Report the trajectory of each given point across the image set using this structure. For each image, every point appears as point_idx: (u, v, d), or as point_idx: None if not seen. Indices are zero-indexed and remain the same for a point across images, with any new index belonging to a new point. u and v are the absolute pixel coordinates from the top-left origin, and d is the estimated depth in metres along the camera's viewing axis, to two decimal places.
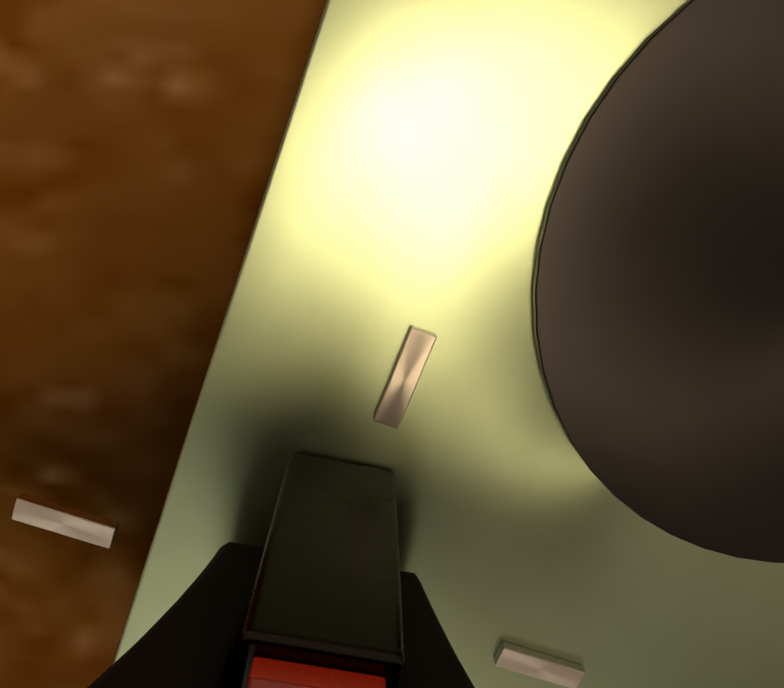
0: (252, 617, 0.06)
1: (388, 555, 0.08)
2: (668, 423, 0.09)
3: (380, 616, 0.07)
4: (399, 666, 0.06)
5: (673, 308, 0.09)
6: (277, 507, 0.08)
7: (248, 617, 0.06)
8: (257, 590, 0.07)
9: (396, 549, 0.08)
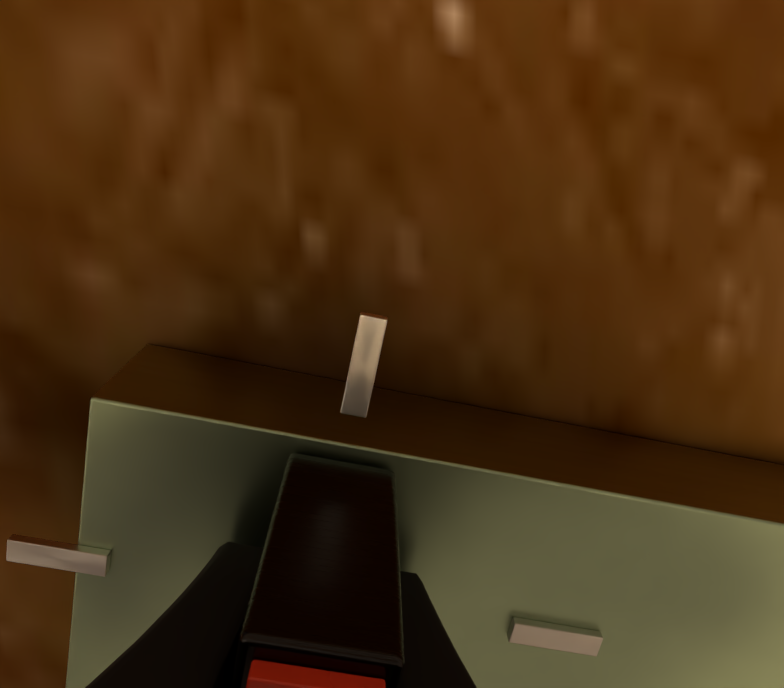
0: (250, 619, 0.06)
1: (388, 555, 0.07)
2: None
3: (380, 617, 0.07)
4: (399, 668, 0.06)
5: None
6: (276, 507, 0.08)
7: (246, 619, 0.06)
8: (255, 592, 0.07)
9: (396, 549, 0.08)
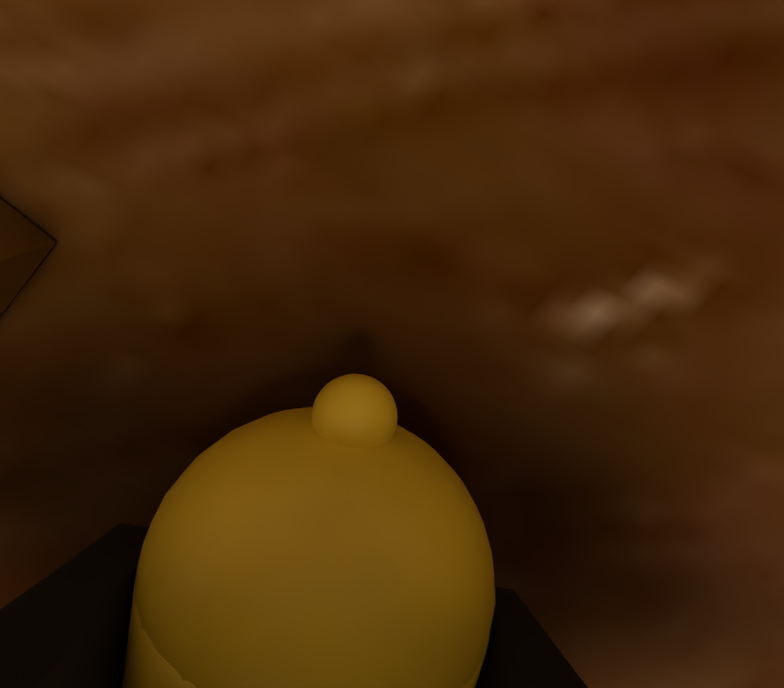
0: None
1: None
2: None
3: None
4: None
5: None
6: None
7: None
8: None
9: None
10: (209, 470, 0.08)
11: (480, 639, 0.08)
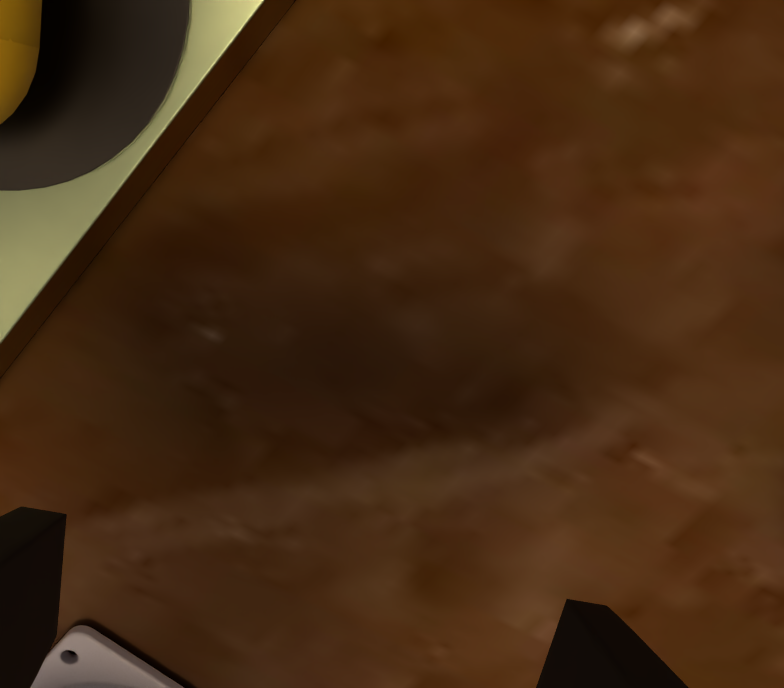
0: None
1: None
2: None
3: None
4: None
5: None
6: None
7: None
8: None
9: None
10: None
11: None
